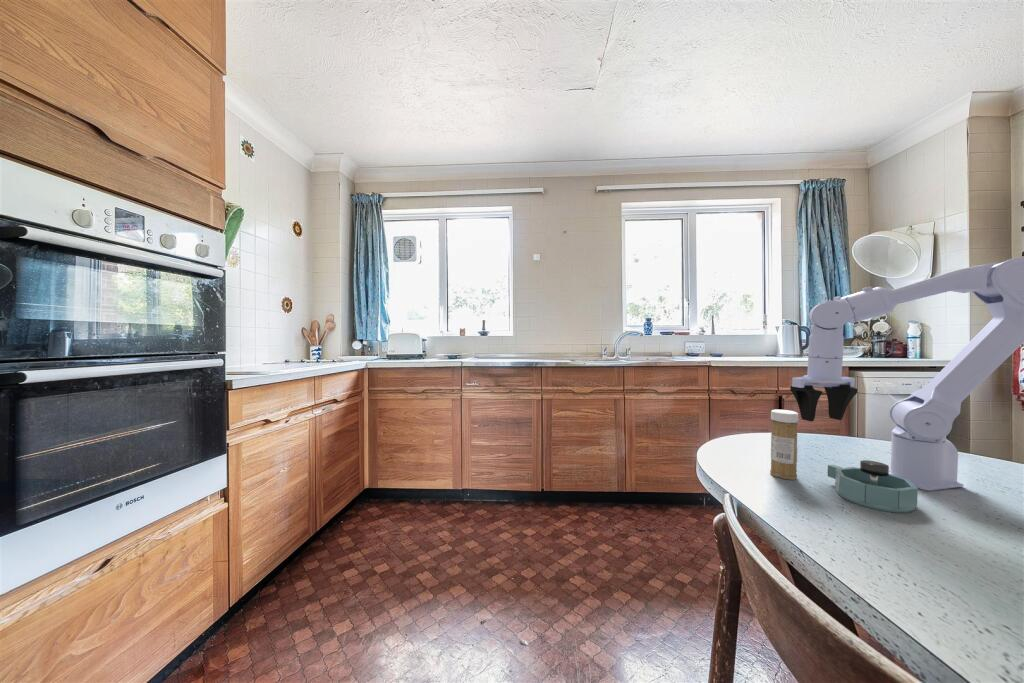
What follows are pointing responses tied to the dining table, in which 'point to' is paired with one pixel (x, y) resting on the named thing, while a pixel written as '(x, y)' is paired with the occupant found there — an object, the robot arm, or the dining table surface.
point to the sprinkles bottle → (784, 444)
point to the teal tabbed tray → (874, 490)
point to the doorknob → (874, 470)
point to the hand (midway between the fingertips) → (821, 419)
